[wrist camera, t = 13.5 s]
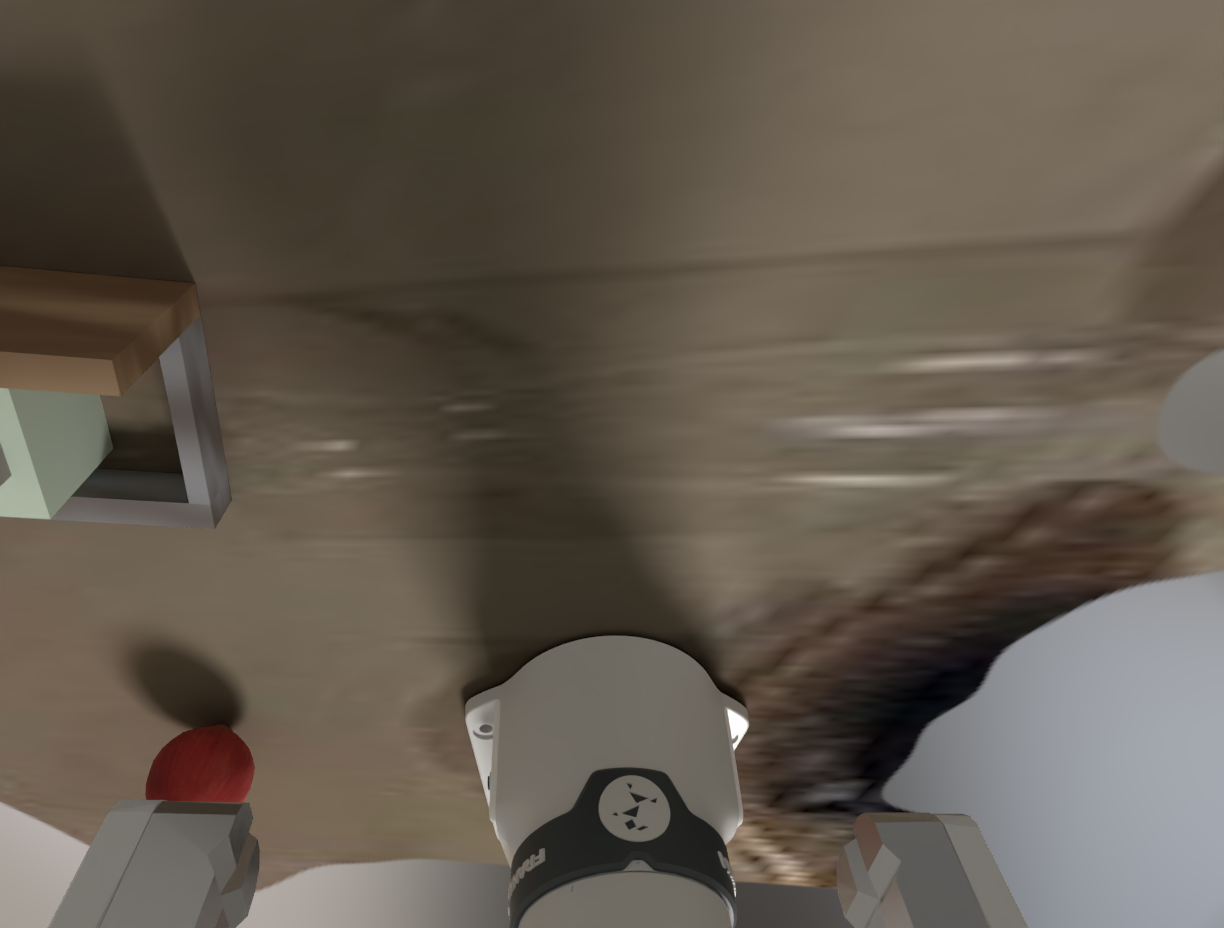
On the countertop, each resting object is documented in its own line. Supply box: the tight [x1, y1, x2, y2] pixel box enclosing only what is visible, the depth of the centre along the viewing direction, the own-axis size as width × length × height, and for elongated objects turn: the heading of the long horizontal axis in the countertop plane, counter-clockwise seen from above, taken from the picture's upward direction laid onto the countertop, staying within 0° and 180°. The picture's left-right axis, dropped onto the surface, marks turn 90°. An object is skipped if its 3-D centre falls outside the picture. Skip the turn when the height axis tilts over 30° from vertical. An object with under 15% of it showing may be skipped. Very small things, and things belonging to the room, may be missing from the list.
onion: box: [146, 724, 255, 803], centre depth 48 cm, size 6×6×8 cm
